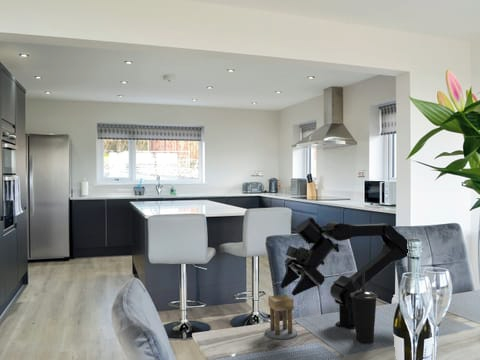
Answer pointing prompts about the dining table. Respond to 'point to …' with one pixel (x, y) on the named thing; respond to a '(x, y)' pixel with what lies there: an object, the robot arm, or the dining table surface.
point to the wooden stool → (284, 305)
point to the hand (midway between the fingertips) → (286, 291)
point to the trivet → (281, 333)
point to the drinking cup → (364, 313)
